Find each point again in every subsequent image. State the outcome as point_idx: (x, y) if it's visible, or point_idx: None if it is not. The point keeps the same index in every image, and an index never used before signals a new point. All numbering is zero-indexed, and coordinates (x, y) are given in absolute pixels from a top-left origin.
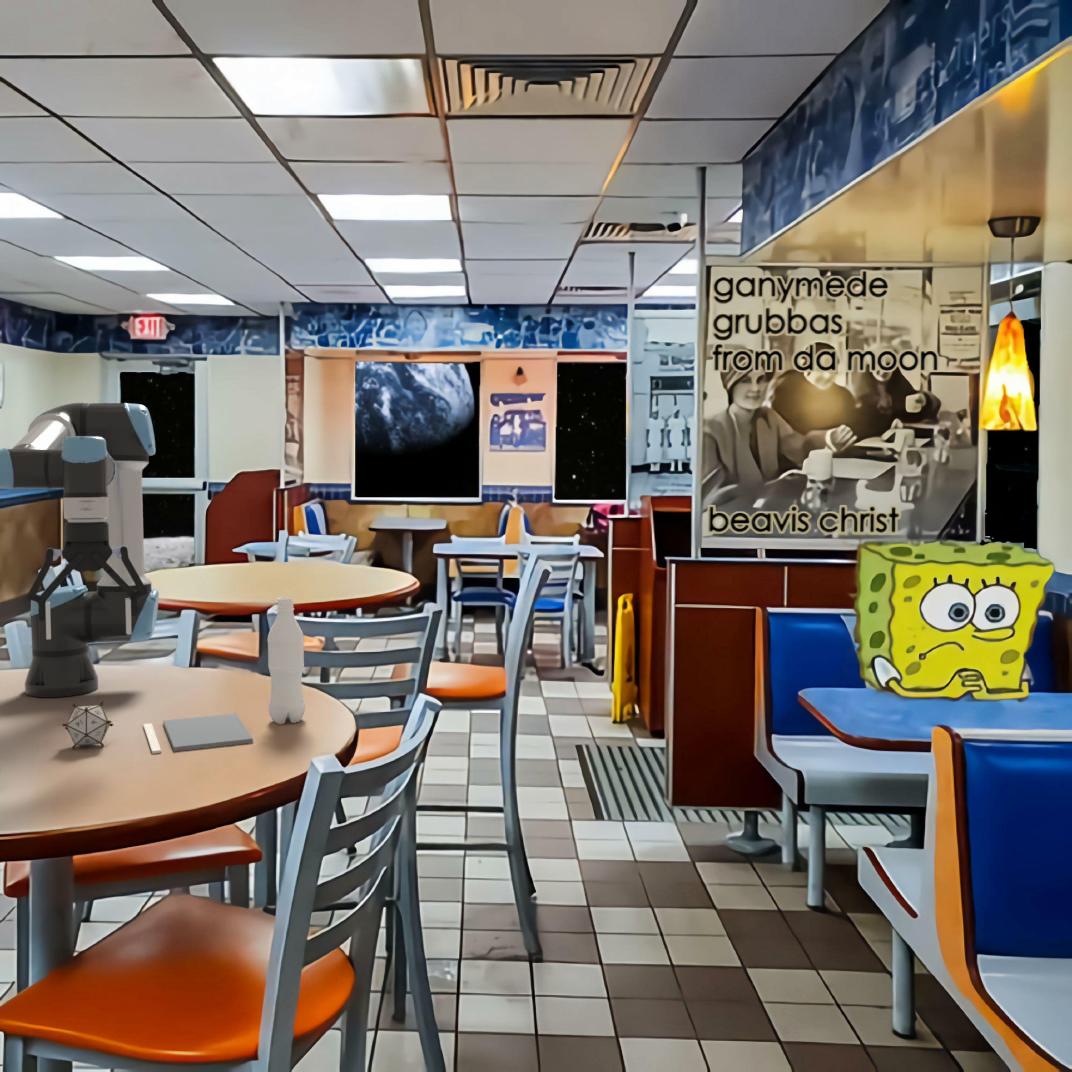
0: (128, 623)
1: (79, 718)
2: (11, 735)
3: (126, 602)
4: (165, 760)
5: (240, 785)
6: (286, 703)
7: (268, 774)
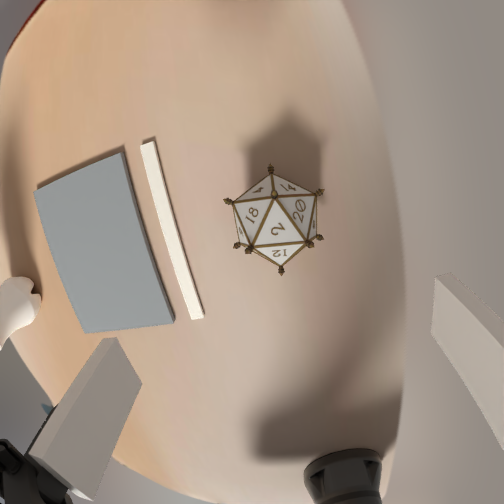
0: (90, 368)
1: (288, 192)
2: (403, 301)
3: (48, 446)
4: (130, 103)
5: (51, 14)
6: (4, 283)
7: (24, 54)
